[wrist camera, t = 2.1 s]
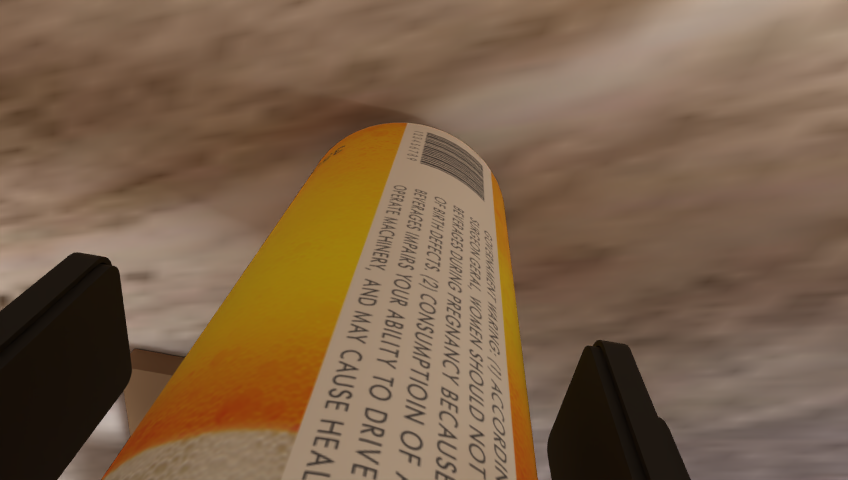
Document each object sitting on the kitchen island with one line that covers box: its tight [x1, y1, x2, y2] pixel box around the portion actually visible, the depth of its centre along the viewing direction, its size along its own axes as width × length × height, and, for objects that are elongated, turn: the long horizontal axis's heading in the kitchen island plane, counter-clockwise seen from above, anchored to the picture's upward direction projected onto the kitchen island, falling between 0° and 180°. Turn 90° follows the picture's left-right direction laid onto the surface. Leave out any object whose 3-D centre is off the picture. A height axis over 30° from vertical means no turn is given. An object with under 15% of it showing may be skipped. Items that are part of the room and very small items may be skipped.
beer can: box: [101, 122, 538, 480], centre depth 11 cm, size 6×6×15 cm
